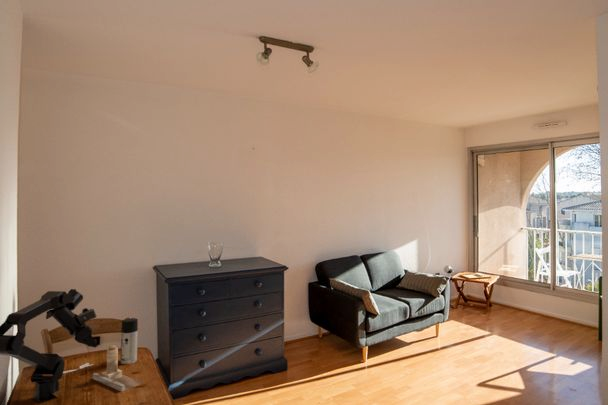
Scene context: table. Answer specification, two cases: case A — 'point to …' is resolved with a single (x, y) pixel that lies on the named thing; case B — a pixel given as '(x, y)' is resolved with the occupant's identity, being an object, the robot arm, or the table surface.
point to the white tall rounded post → (112, 364)
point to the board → (117, 382)
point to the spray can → (129, 340)
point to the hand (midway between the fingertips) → (94, 344)
